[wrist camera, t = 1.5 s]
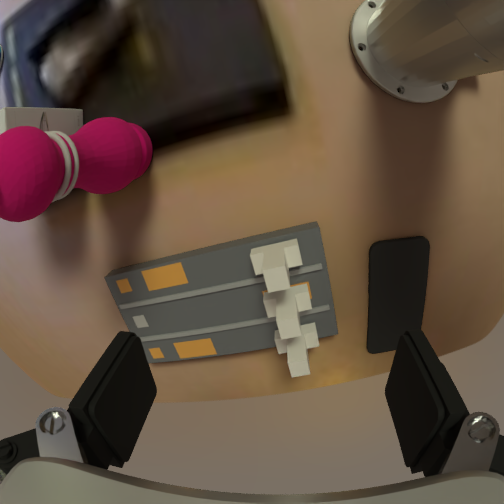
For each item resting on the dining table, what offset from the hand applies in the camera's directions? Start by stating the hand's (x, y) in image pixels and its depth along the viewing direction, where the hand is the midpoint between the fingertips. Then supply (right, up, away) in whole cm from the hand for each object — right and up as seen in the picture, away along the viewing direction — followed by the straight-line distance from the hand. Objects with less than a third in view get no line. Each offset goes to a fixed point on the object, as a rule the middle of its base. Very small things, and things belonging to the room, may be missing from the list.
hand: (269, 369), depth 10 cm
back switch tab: (+4, -5, +22) cm, 23 cm away
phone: (+16, -1, +23) cm, 28 cm away
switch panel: (-4, -1, +24) cm, 25 cm away
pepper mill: (-14, +15, +19) cm, 28 cm away
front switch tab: (+2, +4, +19) cm, 20 cm away
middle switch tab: (+3, 0, +21) cm, 21 cm away
